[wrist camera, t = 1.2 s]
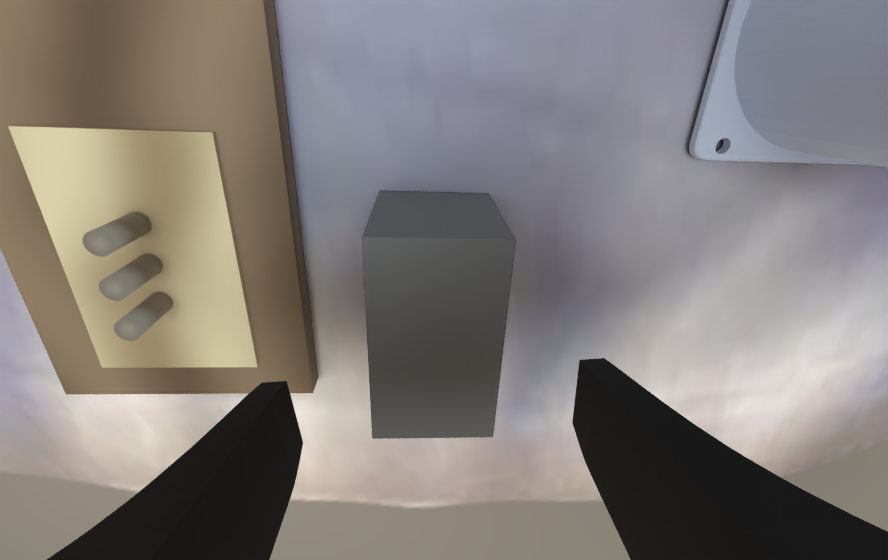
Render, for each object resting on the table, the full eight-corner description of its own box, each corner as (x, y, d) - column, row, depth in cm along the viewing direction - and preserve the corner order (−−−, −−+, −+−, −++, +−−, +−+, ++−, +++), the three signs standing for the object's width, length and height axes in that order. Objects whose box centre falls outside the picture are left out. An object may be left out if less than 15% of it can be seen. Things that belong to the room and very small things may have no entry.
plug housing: (488, 193, 15) (515, 239, 11) (475, 350, 18) (493, 437, 14) (379, 190, 15) (362, 237, 11) (384, 350, 18) (372, 438, 14)
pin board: (240, -284, 10) (168, -429, 7) (317, 378, 19) (299, 432, 16) (-211, -324, 10) (-485, -500, 7) (83, 378, 18) (19, 435, 15)
